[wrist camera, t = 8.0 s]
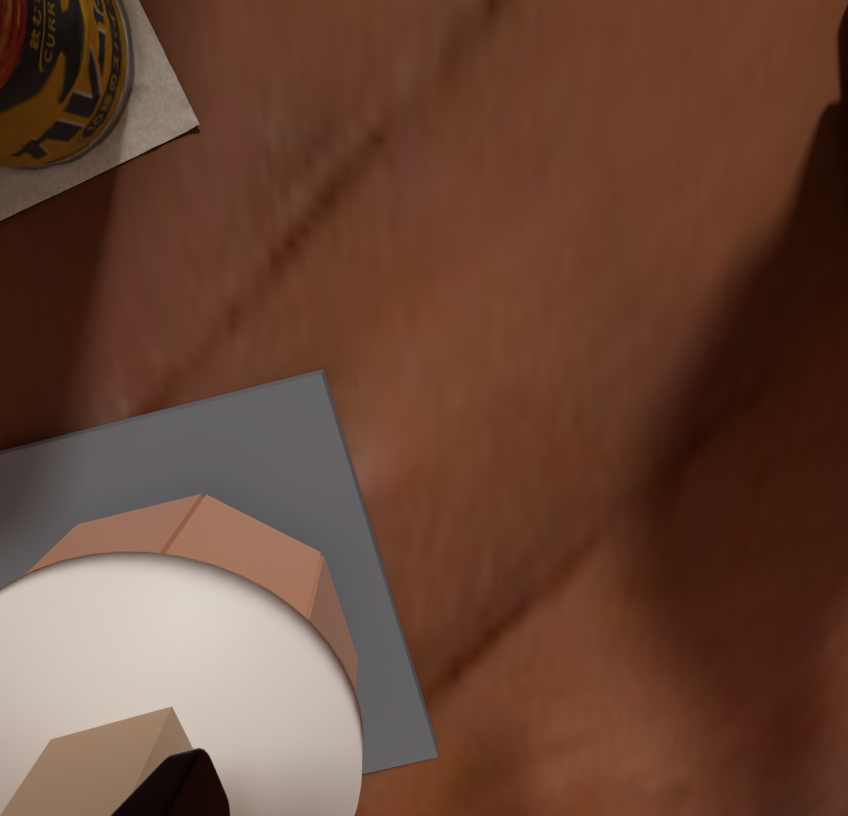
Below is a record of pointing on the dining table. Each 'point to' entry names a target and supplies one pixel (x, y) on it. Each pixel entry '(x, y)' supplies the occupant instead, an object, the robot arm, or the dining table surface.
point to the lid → (168, 689)
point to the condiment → (79, 94)
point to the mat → (248, 493)
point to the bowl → (223, 556)
